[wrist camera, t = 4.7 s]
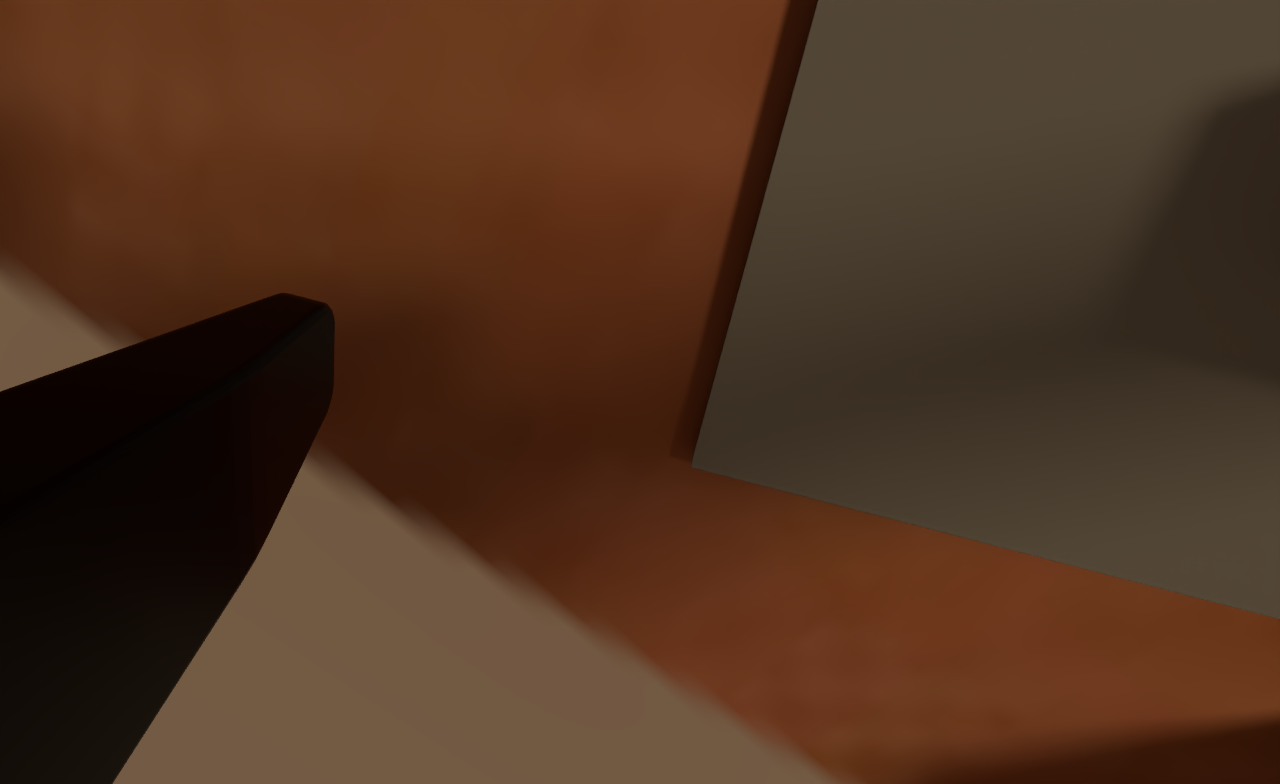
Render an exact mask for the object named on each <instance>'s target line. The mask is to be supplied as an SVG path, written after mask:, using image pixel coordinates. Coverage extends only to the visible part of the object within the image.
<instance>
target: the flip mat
mask: <svg viewBox="0 0 1280 784" xmlns="http://www.w3.org/2000/svg"><path fill="white" fill-rule="evenodd" d="M691 468H695V469H699V470H703V471H707V472H711V473H715V474H719V475H722V476H726V477H730V478H734V479H738V480H742V481H746V482H750V483H753V484H757V485H761V486H765V487H769V488H773V489H777V490H781V491H784V492H788V493H792V494H796V495H800V496H804V497H808V498H812V499H816V500H819V501H823V502H827V503H831V504H835V505H839V506H843V507H847V508H850V509H854V510H858V511H862V512H866V513H870V514H874V515H878V516H881V517H885V518H889V519H893V520H897V521H901V522H905V523H909V524H912V525H916V526H920V527H924V528H928V529H932V530H936V531H940V532H944V533H947V534H951V535H955V536H959V537H963V538H967V539H971V540H975V541H978V542H982V543H986V544H990V545H994V546H998V547H1002V548H1006V549H1009V550H1013V551H1017V552H1021V553H1025V554H1029V555H1033V556H1037V557H1040V558H1044V559H1048V560H1052V561H1056V562H1060V563H1064V564H1068V565H1072V566H1075V567H1079V568H1083V569H1087V570H1091V571H1095V572H1099V573H1103V574H1106V575H1110V576H1114V577H1118V578H1122V579H1126V580H1130V581H1134V582H1137V583H1141V584H1145V585H1149V586H1153V587H1157V588H1161V589H1165V590H1168V591H1172V592H1176V593H1180V594H1184V595H1188V596H1192V597H1196V598H1200V599H1203V600H1207V601H1211V602H1215V603H1219V604H1223V605H1227V606H1231V607H1234V608H1238V609H1242V610H1246V611H1250V612H1254V613H1258V614H1262V615H1265V616H1269V617H1273V618H1277V619H1280V0H818V1H817V4H816V8H815V12H814V15H813V19H812V23H811V26H810V30H809V34H808V37H807V41H806V45H805V48H804V52H803V56H802V59H801V63H800V67H799V70H798V74H797V77H796V81H795V85H794V88H793V92H792V96H791V99H790V103H789V107H788V110H787V114H786V118H785V121H784V125H783V129H782V132H781V136H780V140H779V143H778V147H777V151H776V154H775V158H774V162H773V165H772V169H771V173H770V176H769V180H768V183H767V187H766V191H765V194H764V198H763V202H762V205H761V209H760V213H759V216H758V220H757V224H756V227H755V231H754V235H753V238H752V242H751V246H750V249H749V253H748V257H747V260H746V264H745V268H744V271H743V275H742V279H741V282H740V286H739V290H738V293H737V297H736V300H735V304H734V308H733V311H732V315H731V319H730V322H729V326H728V330H727V333H726V337H725V341H724V344H723V348H722V352H721V355H720V359H719V363H718V366H717V370H716V374H715V377H714V381H713V385H712V388H711V392H710V396H709V399H708V403H707V406H706V410H705V414H704V417H703V421H702V425H701V428H700V432H699V436H698V439H697V443H696V447H695V450H694V454H693V459H692V463H691Z"/></svg>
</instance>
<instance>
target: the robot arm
mask: <svg viewBox="0 0 1280 784" xmlns="http://www.w3.org/2000/svg"><path fill="white" fill-rule="evenodd" d="M334 333H335V322H334V316H333V312H332V310H331V308H330V307H329V306H328V305H327V304H326V303H323V302H319V301H315V300H312V299H308V298H304V297H300V296H296V295H292V294H288V293H280V294H276V295H273V296H270V297H267V298H265V299H262V300H259V301H256V302H253V303H250V304H248V305H245V306H242V307H239V308H236V309H233V310H230V311H228V312H225V313H222V314H219V315H216V316H213V317H211V318H208V319H205V320H202V321H199V322H196V323H194V324H191V325H188V326H185V327H182V328H179V329H177V330H174V331H171V332H168V333H165V334H162V335H160V336H157V337H154V338H151V339H148V340H145V341H143V342H140V343H137V344H134V345H131V346H128V347H126V348H123V349H120V350H117V351H114V352H111V353H109V354H106V355H103V356H100V357H98V358H94V359H92V360H89V361H86V362H83V363H80V364H77V365H75V366H72V367H69V368H66V369H63V370H61V371H58V372H55V373H52V374H49V375H46V376H43V377H40V378H38V379H35V380H32V381H29V382H26V383H23V384H21V385H18V386H15V387H12V388H9V389H6V390H3V391H1V392H0V784H113V782H114V780H115V779H116V777H117V776H118V774H119V773H120V771H121V770H122V768H123V767H124V765H125V763H126V762H127V760H128V759H129V757H130V756H131V754H132V753H133V751H134V749H135V748H136V746H137V745H138V743H139V742H140V740H141V739H142V737H143V735H144V734H145V732H146V731H147V729H148V728H149V726H150V724H151V723H152V721H153V720H154V718H155V716H156V715H157V714H158V712H159V711H160V709H161V707H162V706H163V704H164V703H165V701H166V700H167V698H168V696H169V695H170V693H171V692H172V690H173V689H174V687H175V686H176V684H177V683H178V681H179V679H180V678H181V676H182V675H183V673H184V671H185V670H186V669H187V667H188V665H189V664H190V662H191V661H192V659H193V658H194V656H195V654H196V653H197V651H198V650H199V648H200V647H201V645H202V644H203V642H204V641H205V639H206V637H207V636H208V634H209V633H210V631H211V630H212V628H213V627H214V625H215V623H216V622H217V620H218V619H219V617H220V616H221V614H222V612H223V611H224V609H225V608H226V606H227V605H228V603H229V601H230V600H231V599H232V597H233V595H234V594H235V592H236V591H237V589H238V588H239V586H240V585H241V583H242V581H243V580H244V578H245V576H246V575H247V573H248V571H249V570H250V568H251V566H252V565H253V563H254V561H255V560H256V558H257V556H258V554H259V552H260V550H261V548H262V546H263V544H264V542H265V540H266V538H267V536H268V534H269V532H270V530H271V528H272V526H273V524H274V522H275V519H276V518H277V516H278V513H279V511H280V510H281V507H282V505H283V503H284V501H285V499H286V497H287V495H288V493H289V491H290V489H291V487H292V485H293V483H294V480H295V478H296V476H297V474H298V472H299V470H300V468H301V466H302V464H303V462H304V460H305V458H306V456H307V453H308V451H309V449H310V447H311V445H312V443H313V441H314V439H315V437H316V435H317V433H318V431H319V429H320V427H321V424H322V422H323V420H324V418H325V416H326V414H327V411H328V409H329V406H330V402H331V398H332V393H333V385H334Z"/></svg>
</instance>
